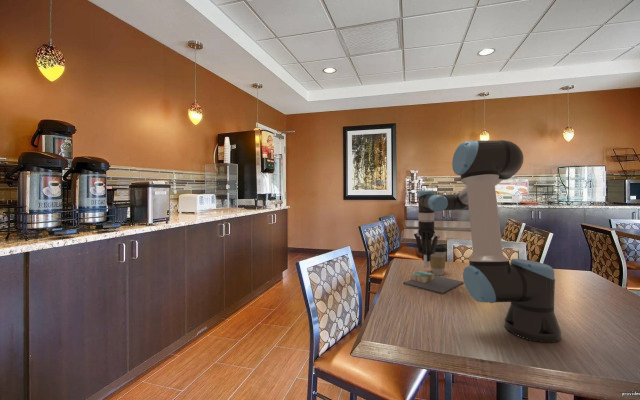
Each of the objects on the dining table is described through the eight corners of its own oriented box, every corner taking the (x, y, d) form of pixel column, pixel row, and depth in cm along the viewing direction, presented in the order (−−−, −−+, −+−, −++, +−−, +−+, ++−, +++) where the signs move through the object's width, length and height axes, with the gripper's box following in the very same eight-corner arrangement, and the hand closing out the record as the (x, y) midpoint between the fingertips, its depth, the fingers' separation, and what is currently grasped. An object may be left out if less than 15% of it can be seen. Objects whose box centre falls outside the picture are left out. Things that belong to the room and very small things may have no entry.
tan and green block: (424, 277, 147) (410, 274, 153) (424, 282, 147) (410, 279, 153) (433, 273, 153) (419, 270, 159) (433, 278, 153) (419, 275, 159)
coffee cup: (448, 272, 166) (448, 246, 166) (445, 277, 158) (445, 249, 158) (430, 270, 172) (430, 244, 171) (426, 274, 163) (426, 247, 163)
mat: (442, 294, 133) (442, 292, 133) (403, 284, 148) (403, 282, 148) (463, 283, 148) (463, 281, 148) (426, 275, 162) (426, 273, 162)
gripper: (442, 221, 147) (442, 268, 148) (418, 219, 157) (418, 263, 158) (434, 222, 142) (435, 271, 143) (410, 220, 152) (411, 266, 153)
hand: (426, 267), depth 150 cm, fingers closed
